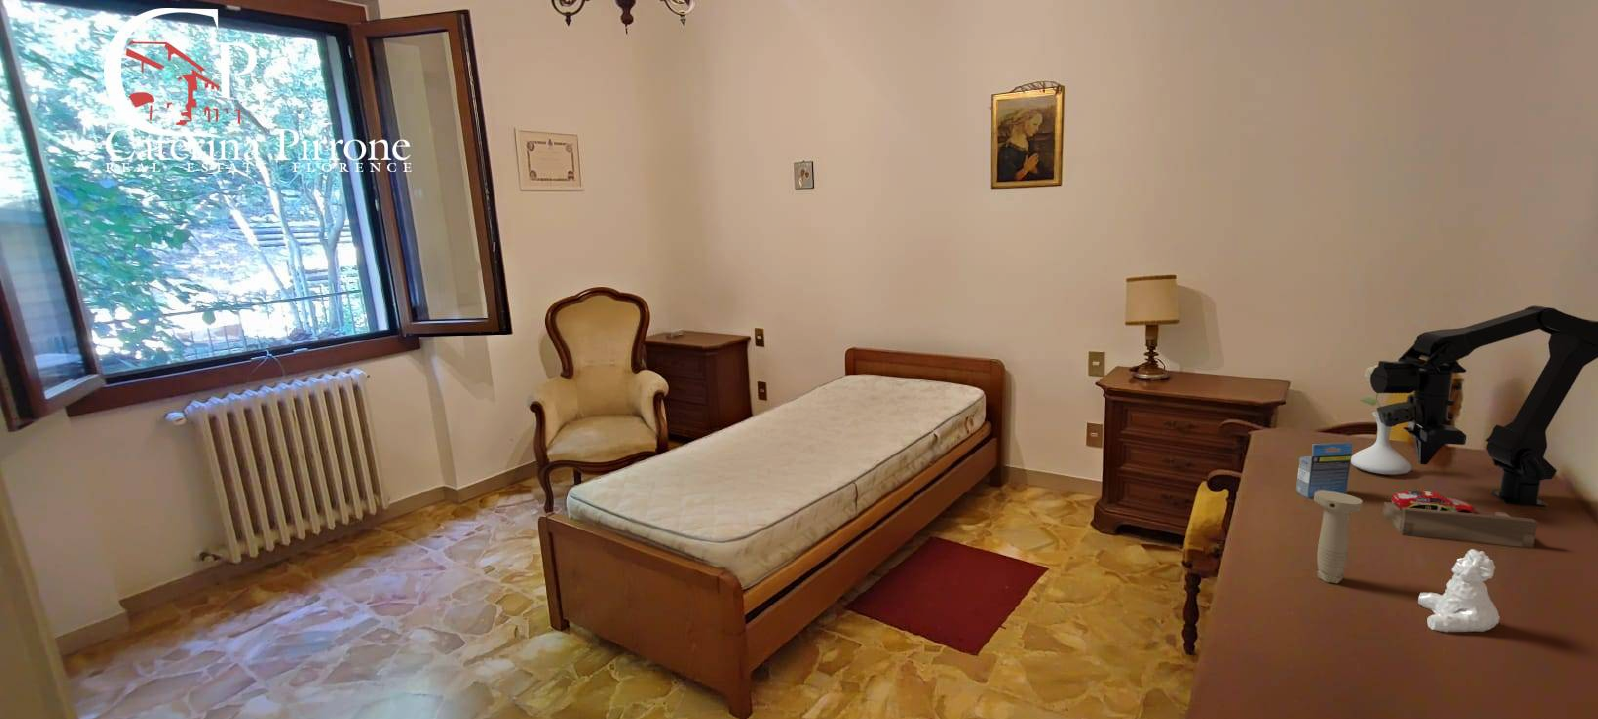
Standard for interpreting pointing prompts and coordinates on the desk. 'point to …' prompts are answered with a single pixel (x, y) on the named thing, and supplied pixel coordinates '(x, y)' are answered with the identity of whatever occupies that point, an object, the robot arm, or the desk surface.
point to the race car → (1430, 502)
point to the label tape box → (1324, 469)
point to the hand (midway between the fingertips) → (1422, 463)
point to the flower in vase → (1380, 447)
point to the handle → (1334, 533)
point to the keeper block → (1462, 526)
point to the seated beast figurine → (1464, 598)
